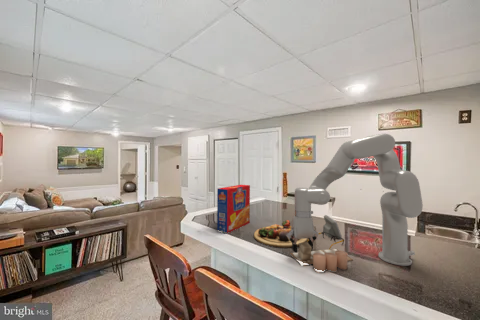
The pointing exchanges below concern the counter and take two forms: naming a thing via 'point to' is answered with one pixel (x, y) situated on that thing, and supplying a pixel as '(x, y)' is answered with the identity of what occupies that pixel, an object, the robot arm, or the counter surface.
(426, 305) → the counter surface
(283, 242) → the wooden plate with food
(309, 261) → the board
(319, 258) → the tan short cylinder
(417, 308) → the counter surface
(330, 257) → the tan short cylinder
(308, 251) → the beige block
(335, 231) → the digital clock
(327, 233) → the eyeglasses
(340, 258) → the tan short cylinder
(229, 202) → the pasta box
